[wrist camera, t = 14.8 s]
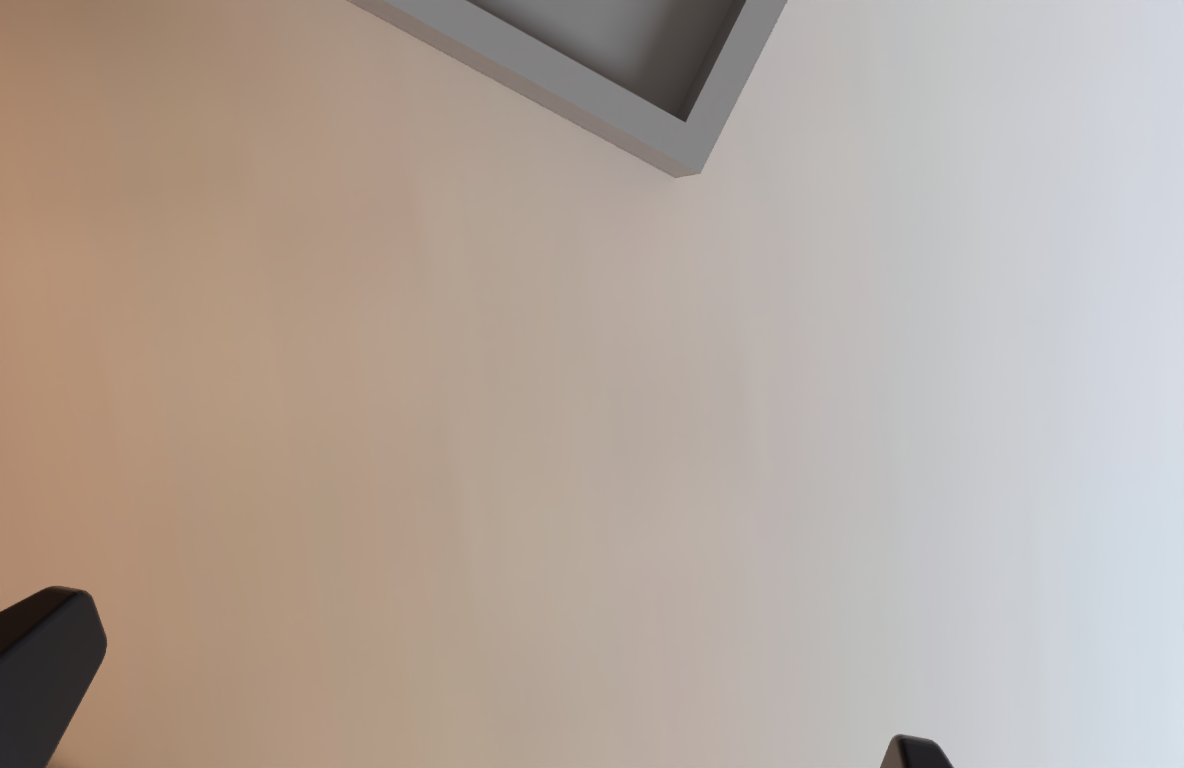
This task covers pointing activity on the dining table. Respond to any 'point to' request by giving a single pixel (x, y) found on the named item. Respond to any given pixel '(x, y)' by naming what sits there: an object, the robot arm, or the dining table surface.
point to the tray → (608, 62)
